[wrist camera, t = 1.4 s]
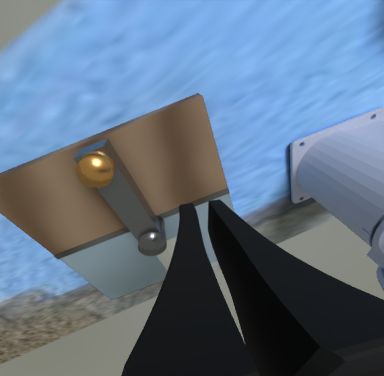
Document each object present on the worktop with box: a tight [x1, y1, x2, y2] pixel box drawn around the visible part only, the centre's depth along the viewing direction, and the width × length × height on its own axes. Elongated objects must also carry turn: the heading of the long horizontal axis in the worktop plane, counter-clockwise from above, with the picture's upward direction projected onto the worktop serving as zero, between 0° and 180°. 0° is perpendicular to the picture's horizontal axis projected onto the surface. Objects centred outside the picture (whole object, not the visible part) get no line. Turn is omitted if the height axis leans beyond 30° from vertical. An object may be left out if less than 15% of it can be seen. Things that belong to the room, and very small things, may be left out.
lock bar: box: [73, 138, 167, 256], centre depth 15 cm, size 10×2×3 cm, turn 19°
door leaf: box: [60, 194, 234, 300], centre depth 22 cm, size 18×10×2 cm, turn 109°
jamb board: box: [0, 93, 229, 259], centre depth 17 cm, size 18×9×2 cm, turn 109°
